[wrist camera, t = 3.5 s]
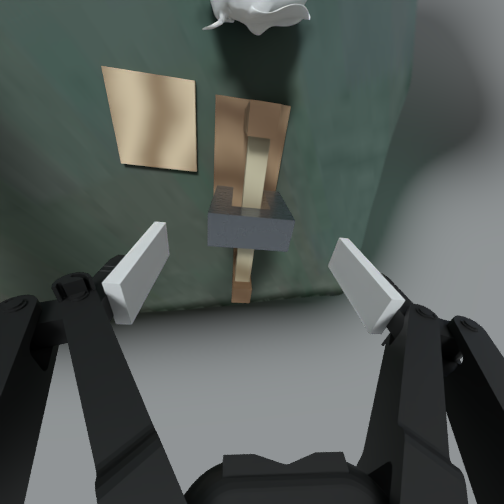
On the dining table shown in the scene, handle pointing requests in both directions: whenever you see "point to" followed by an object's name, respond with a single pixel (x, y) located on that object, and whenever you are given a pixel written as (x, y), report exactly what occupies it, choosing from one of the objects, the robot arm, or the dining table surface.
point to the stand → (247, 164)
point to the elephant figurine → (259, 13)
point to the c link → (249, 222)
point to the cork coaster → (153, 118)
